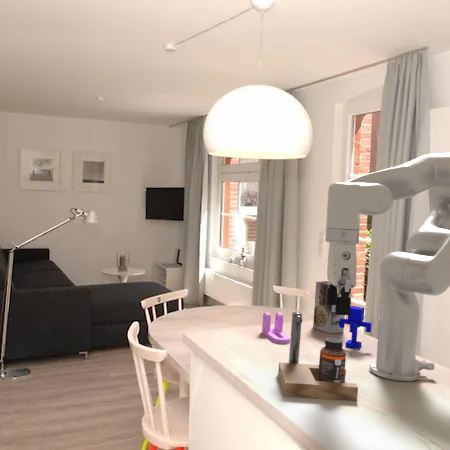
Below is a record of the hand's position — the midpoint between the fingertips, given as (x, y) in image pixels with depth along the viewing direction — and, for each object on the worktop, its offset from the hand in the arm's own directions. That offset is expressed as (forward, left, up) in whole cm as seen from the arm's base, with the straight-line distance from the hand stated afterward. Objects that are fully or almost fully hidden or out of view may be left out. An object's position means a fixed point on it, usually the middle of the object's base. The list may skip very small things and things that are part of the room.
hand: (337, 309), depth 119 cm
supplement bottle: (0, 0, -19) cm, 19 cm away
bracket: (+9, -41, -19) cm, 46 cm away
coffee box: (-10, -55, -19) cm, 59 cm away
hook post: (+8, -8, -19) cm, 22 cm away
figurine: (-14, -36, -19) cm, 43 cm away
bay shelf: (+4, 0, -19) cm, 19 cm away
